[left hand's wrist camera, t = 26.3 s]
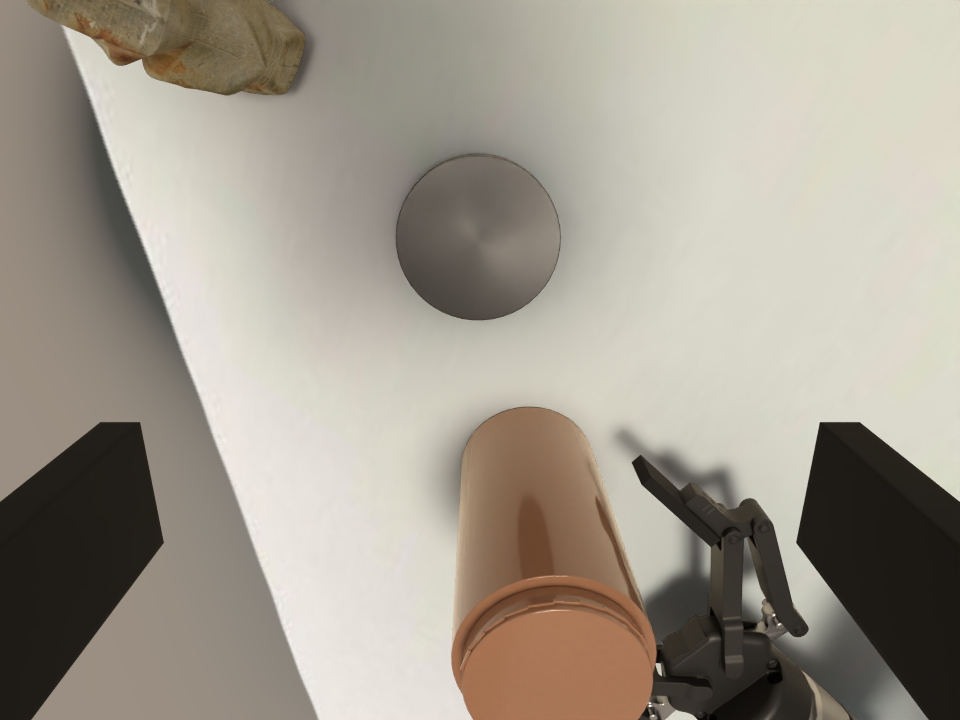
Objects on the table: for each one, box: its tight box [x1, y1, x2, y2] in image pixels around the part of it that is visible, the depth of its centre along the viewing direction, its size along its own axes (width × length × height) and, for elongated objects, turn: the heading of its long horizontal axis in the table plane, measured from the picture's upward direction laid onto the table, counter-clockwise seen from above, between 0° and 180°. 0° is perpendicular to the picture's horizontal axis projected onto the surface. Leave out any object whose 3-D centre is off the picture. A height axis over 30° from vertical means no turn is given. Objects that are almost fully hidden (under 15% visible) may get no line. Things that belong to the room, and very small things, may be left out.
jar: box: [451, 407, 657, 720], centre depth 38 cm, size 9×10×19 cm
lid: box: [396, 154, 561, 320], centre depth 40 cm, size 10×10×2 cm
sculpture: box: [27, 0, 305, 95], centre depth 30 cm, size 6×7×15 cm
